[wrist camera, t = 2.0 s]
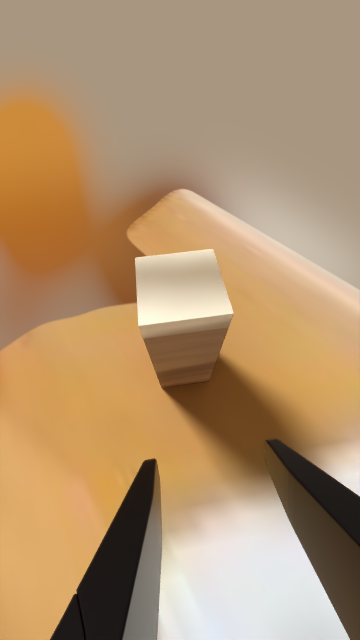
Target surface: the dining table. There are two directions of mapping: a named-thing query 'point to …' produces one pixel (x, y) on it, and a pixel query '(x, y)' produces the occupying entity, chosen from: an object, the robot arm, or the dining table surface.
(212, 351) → the cream and brown block
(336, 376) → the dining table surface
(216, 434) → the dining table surface
